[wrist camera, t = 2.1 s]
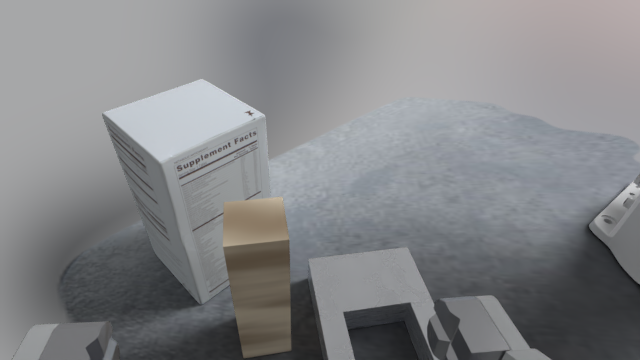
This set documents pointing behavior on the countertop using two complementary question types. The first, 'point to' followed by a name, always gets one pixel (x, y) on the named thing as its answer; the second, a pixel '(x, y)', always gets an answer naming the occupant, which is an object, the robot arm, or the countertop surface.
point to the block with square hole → (368, 298)
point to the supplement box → (191, 174)
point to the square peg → (259, 273)
